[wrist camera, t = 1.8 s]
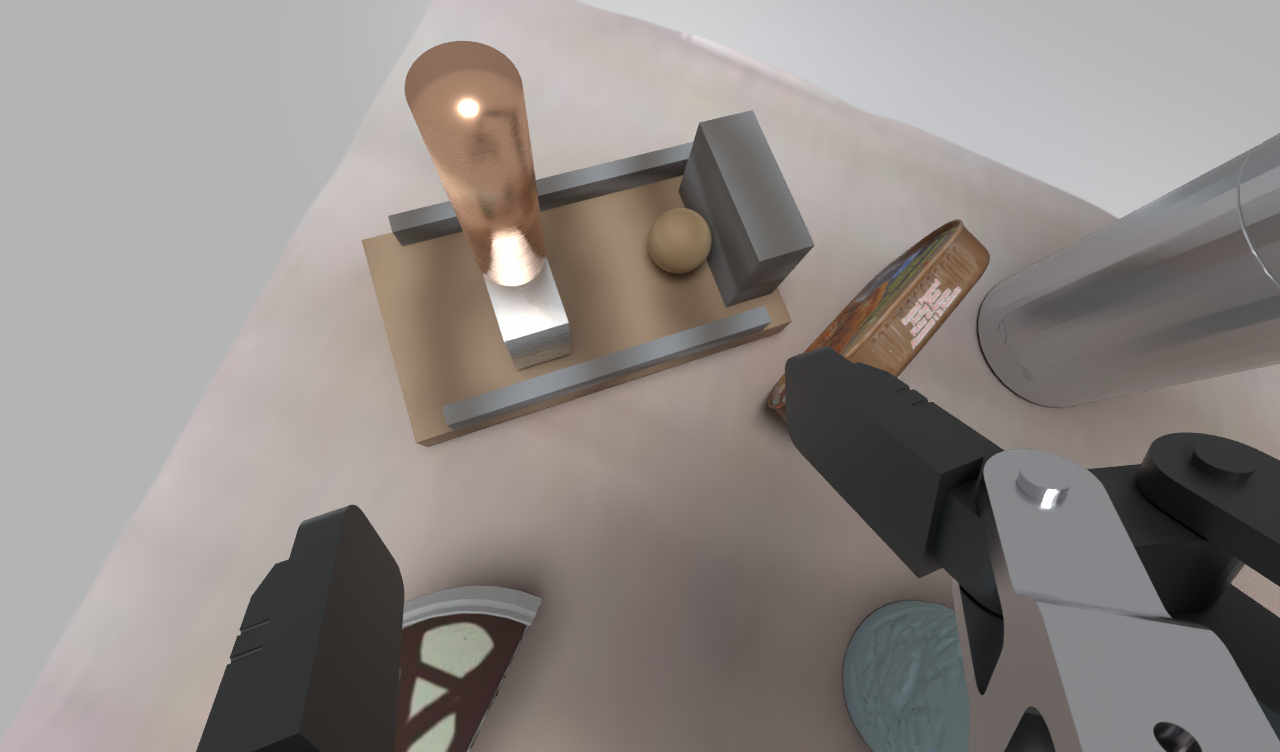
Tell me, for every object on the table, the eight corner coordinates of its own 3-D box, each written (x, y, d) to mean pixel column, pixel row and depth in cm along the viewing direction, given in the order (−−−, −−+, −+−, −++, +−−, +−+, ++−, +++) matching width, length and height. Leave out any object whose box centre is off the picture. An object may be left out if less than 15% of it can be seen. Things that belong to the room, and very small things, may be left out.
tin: (890, 259, 35) (982, 185, 27) (925, 291, 35) (1030, 225, 27) (746, 414, 31) (803, 382, 23) (784, 451, 31) (856, 432, 23)
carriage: (529, 226, 30) (481, -32, 16) (572, 353, 29) (563, 195, 14) (474, 240, 30) (371, -14, 15) (515, 370, 28) (444, 225, 14)
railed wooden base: (710, 171, 35) (746, 76, 27) (779, 332, 33) (840, 278, 25) (375, 256, 31) (307, 174, 23) (427, 446, 29) (370, 425, 21)
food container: (450, 524, 28) (381, 534, 18) (553, 573, 28) (539, 608, 18) (319, 769, 25) (152, 937, 15) (435, 825, 25) (342, 1027, 15)
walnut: (690, 222, 32) (704, 187, 28) (712, 274, 31) (728, 245, 28) (635, 237, 31) (642, 203, 28) (656, 291, 30) (665, 263, 27)
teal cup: (1028, 745, 29) (1333, 908, 17) (868, 824, 27) (1086, 1067, 15) (949, 560, 31) (1173, 592, 19) (795, 622, 29) (938, 700, 17)
